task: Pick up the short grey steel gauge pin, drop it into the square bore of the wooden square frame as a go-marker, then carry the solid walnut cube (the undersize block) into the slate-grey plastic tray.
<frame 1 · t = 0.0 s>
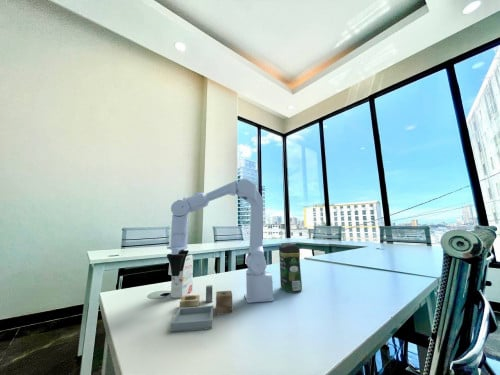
hand: (177, 273, 73), 10 cm above the table, fingers open, 7 cm apart
wooden square frame: (189, 307, 68), on the table
pin gauge: (209, 301, 74), on the table
tray: (194, 321, 58), on the table
ink cartridge box: (181, 295, 82), on the table
coffee jar: (291, 289, 86), on the table
walnut block: (223, 310, 66), on the table
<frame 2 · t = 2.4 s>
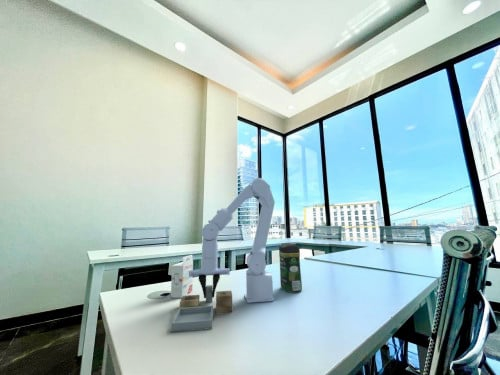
hand: (209, 296, 74), 1 cm above the table, fingers closed on pin gauge, 2 cm apart
pin gauge: (209, 301, 74), on the table, touching gripper
everything else where it was.
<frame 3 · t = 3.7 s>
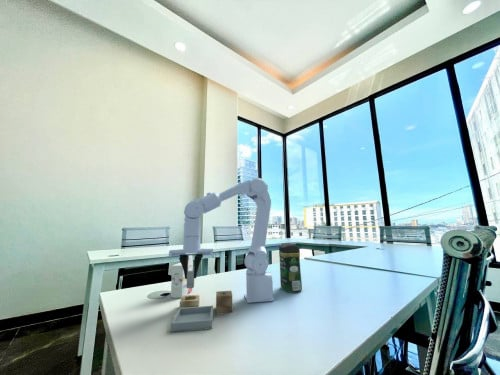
hand: (190, 278, 70), 9 cm above the table, fingers closed on pin gauge, 2 cm apart
pin gauge: (190, 287, 69), point 6 cm above the table, touching gripper
everything else where it was.
when the fingers open (3 cm above the table, at t = 5.2 s): pin gauge stays where it is, resting in wooden square frame.
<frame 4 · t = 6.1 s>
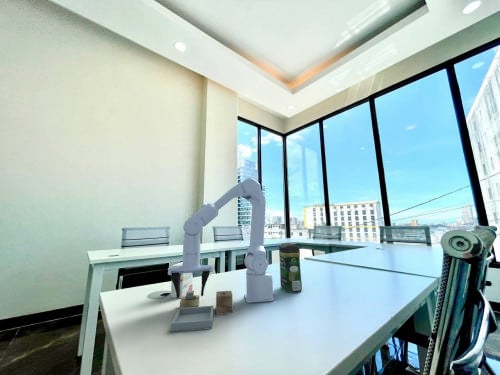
hand: (190, 295, 69), 4 cm above the table, fingers open, 7 cm apart
pin gauge: (189, 308, 68), resting in wooden square frame
everything else where it was.
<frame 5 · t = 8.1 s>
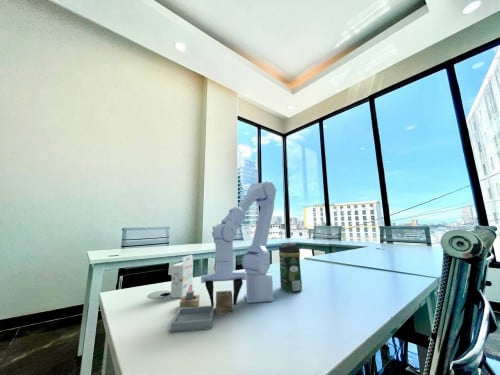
hand: (223, 305, 66), 1 cm above the table, fingers open, 6 cm apart
nothing on the table moved.
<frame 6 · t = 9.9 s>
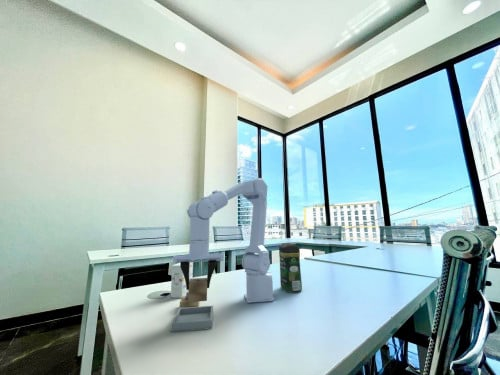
hand: (198, 288, 60), 9 cm above the table, fingers closed on walnut block, 5 cm apart
walnut block: (197, 298, 60), point 6 cm above the table, touching gripper
everything else where it was.
when the fingers open (3 cm above the table, at t = 11.6 s): walnut block stays where it is, resting on tray.
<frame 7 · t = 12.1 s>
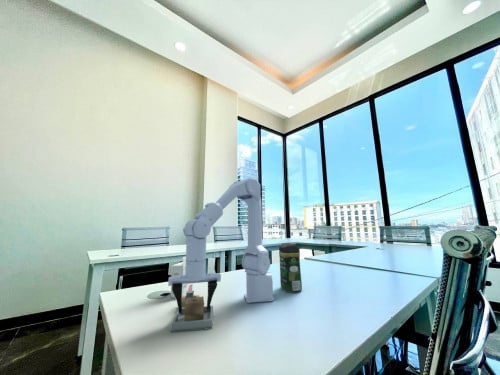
hand: (194, 310, 59), 3 cm above the table, fingers open, 7 cm apart
walnut block: (194, 319, 58), resting on tray
everything else where it was.
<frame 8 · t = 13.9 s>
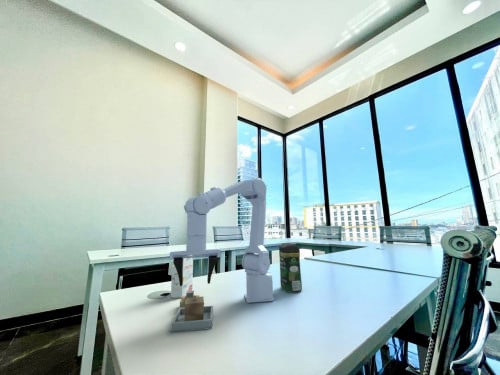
hand: (195, 283, 60), 10 cm above the table, fingers open, 7 cm apart
nothing on the table moved.
at the end: pin gauge 0.3 cm off-centre on the wooden square frame, point 0.0 cm above the wooden square frame's base; walnut block inside the target area on the tray (0.2 cm from its centre), point 0.5 cm above the tray's base; walnut block tilted 0° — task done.
